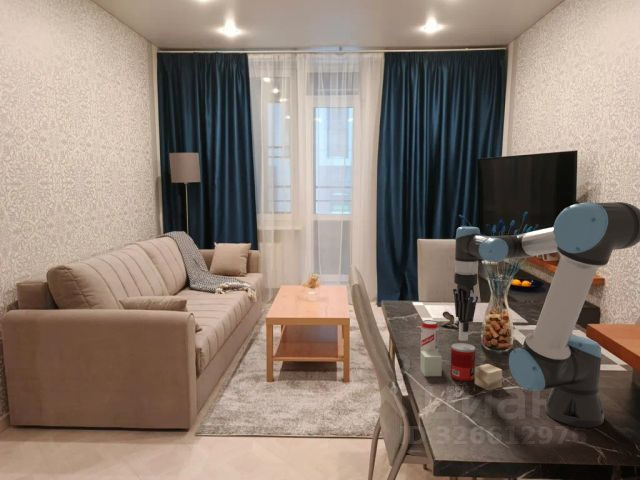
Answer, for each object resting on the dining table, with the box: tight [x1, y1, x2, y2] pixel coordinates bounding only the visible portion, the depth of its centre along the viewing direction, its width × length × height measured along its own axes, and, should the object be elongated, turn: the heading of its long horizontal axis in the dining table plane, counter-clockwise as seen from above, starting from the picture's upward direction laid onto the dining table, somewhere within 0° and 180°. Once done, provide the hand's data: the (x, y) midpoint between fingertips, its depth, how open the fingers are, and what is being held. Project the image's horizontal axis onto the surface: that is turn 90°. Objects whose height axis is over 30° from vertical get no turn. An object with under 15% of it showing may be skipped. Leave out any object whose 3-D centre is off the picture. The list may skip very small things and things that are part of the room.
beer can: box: [419, 319, 440, 361], centre depth 180 cm, size 6×6×16 cm
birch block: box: [474, 363, 503, 392], centre depth 162 cm, size 6×6×6 cm
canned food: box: [450, 342, 476, 382], centre depth 168 cm, size 8×8×11 cm
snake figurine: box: [439, 311, 459, 329], centre depth 227 cm, size 8×7×9 cm
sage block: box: [419, 350, 443, 377], centre depth 172 cm, size 6×6×7 cm
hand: (463, 339), depth 167 cm, fingers closed
